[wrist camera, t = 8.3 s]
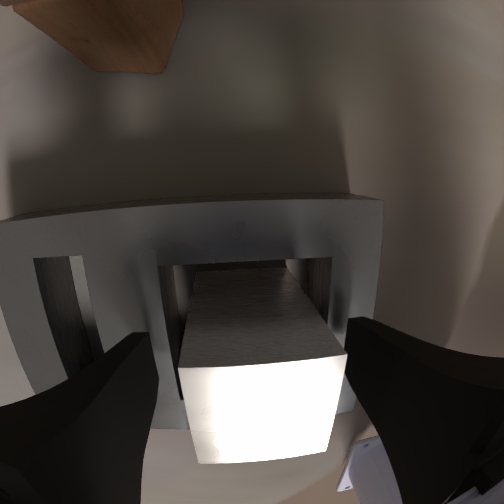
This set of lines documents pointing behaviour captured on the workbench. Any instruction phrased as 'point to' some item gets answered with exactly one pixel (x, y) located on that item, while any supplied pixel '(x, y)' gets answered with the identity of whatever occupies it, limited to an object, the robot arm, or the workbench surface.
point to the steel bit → (257, 367)
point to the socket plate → (162, 276)
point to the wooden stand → (109, 30)
